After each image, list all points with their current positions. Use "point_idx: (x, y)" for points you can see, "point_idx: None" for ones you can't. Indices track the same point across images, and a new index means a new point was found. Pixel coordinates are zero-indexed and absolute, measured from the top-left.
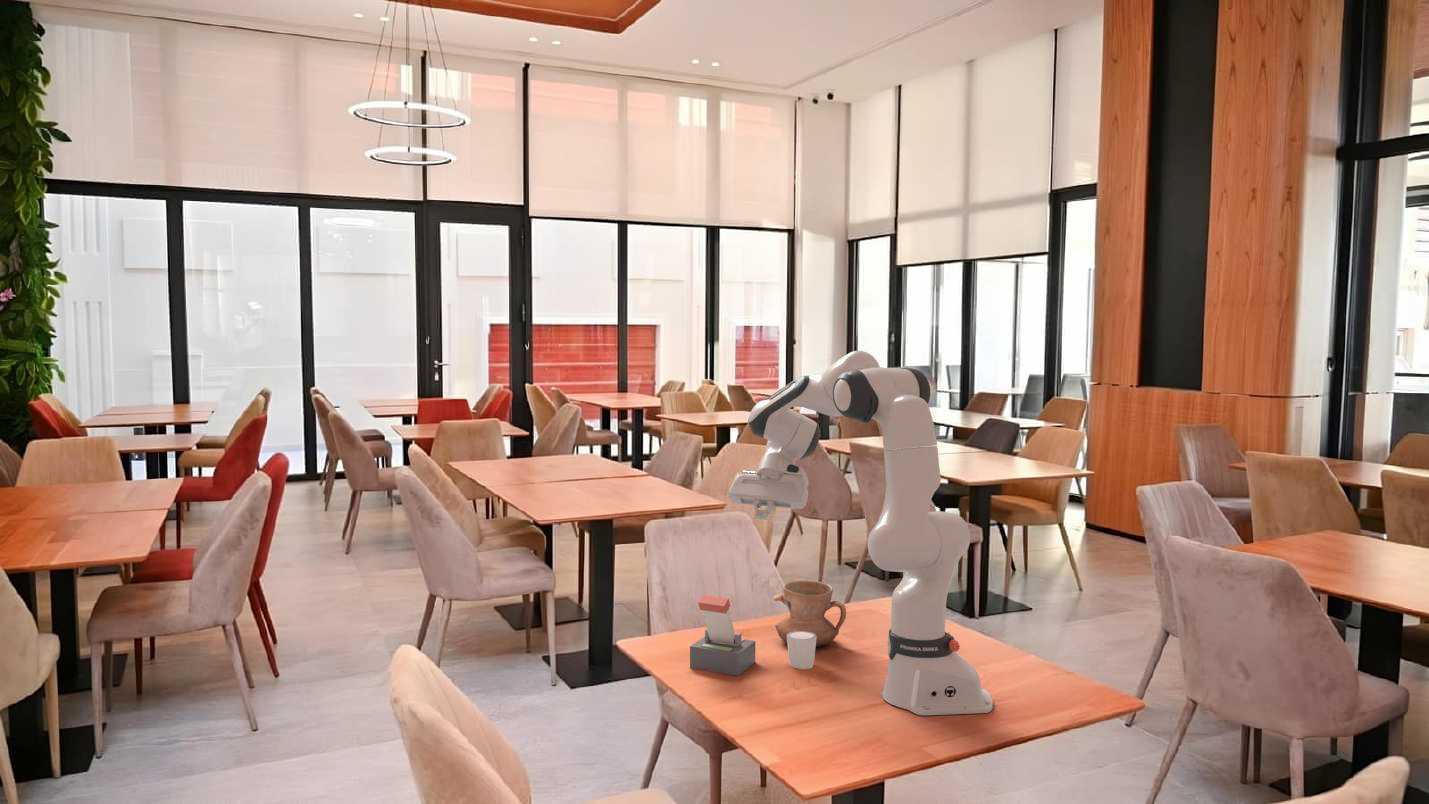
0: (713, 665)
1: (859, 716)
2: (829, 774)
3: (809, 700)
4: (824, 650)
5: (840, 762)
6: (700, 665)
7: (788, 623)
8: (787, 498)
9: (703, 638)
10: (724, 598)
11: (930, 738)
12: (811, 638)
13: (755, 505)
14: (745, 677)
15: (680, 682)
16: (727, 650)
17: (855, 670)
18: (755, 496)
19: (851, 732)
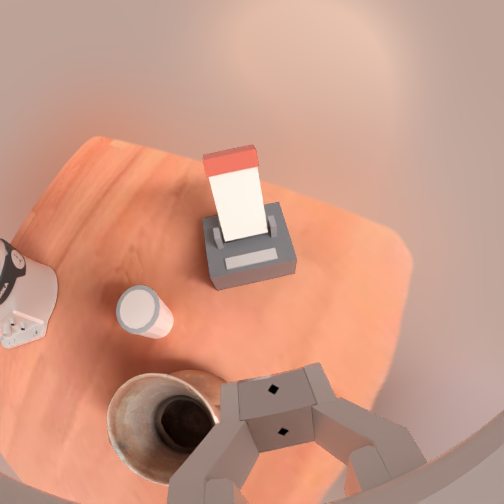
0: None
1: (69, 229)
2: (81, 152)
3: (111, 229)
4: None
5: (76, 165)
6: None
7: (205, 388)
8: (9, 491)
9: (287, 237)
10: (209, 158)
11: (30, 230)
12: (119, 303)
13: (367, 424)
14: (198, 237)
15: None
16: None
17: (94, 341)
18: (436, 474)
19: (72, 201)
